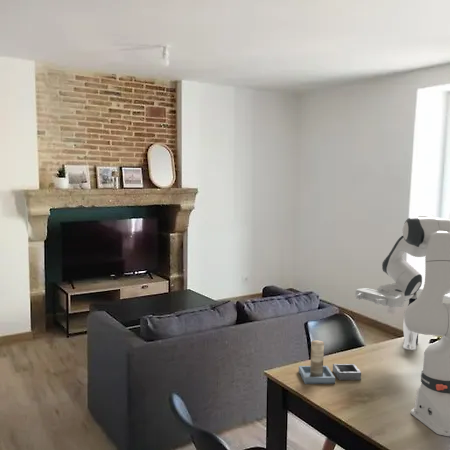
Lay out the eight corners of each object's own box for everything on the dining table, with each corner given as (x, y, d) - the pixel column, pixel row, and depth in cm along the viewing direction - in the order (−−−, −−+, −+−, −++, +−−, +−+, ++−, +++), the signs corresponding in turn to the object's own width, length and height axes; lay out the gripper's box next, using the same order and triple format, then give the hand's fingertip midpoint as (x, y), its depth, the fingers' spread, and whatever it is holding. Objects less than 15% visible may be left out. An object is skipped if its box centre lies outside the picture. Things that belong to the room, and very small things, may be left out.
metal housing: (360, 379, 200) (361, 372, 200) (338, 379, 199) (339, 372, 199) (353, 370, 209) (354, 363, 209) (332, 371, 208) (332, 364, 208)
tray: (335, 383, 196) (335, 377, 195) (304, 383, 195) (305, 377, 195) (327, 371, 208) (327, 365, 207) (298, 371, 207) (298, 365, 207)
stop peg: (324, 378, 199) (325, 344, 197) (311, 378, 199) (313, 344, 197) (320, 373, 204) (322, 340, 202) (308, 373, 204) (310, 340, 202)
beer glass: (415, 346, 240) (417, 315, 239) (419, 351, 233) (421, 320, 232) (400, 345, 241) (402, 315, 239) (404, 350, 234) (405, 319, 232)
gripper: (367, 283, 224) (347, 287, 216) (407, 292, 208) (387, 297, 200) (366, 297, 225) (346, 301, 216) (406, 307, 209) (387, 312, 200)
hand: (366, 299), depth 208 cm, fingers open, 8 cm apart
